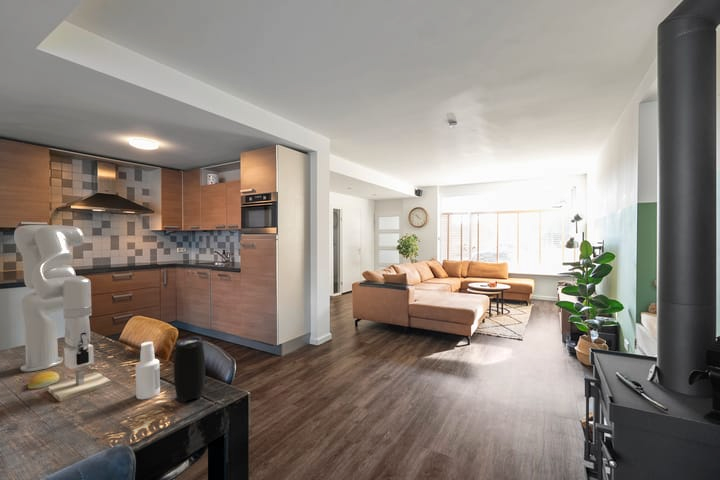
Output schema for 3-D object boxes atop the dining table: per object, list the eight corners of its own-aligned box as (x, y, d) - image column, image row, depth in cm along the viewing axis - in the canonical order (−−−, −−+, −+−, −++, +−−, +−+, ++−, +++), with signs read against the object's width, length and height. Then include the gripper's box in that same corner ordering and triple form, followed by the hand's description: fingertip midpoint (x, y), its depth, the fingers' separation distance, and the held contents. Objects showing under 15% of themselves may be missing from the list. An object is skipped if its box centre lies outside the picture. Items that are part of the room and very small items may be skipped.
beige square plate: (47, 390, 110) (47, 374, 110) (97, 375, 122) (96, 360, 122) (59, 402, 103) (59, 384, 103) (111, 384, 114) (110, 368, 114)
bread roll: (26, 392, 110) (25, 381, 110) (30, 383, 117) (29, 372, 117) (58, 384, 115) (58, 374, 115) (60, 376, 122) (60, 366, 122)
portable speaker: (168, 402, 102) (167, 343, 101) (191, 388, 111) (189, 334, 110) (189, 405, 100) (188, 345, 99) (211, 391, 109) (209, 336, 108)
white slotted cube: (64, 365, 111) (64, 347, 111) (87, 359, 117) (87, 342, 116) (70, 369, 108) (69, 350, 108) (93, 362, 113) (93, 345, 113)
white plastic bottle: (164, 391, 109) (163, 340, 109) (145, 401, 103) (144, 347, 102) (150, 388, 111) (149, 338, 111) (131, 398, 105) (130, 345, 104)
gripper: (56, 311, 113) (58, 360, 114) (72, 318, 104) (73, 370, 104) (82, 307, 120) (84, 353, 120) (99, 313, 110) (101, 363, 111)
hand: (79, 361), depth 112 cm, fingers closed on white slotted cube, 6 cm apart
